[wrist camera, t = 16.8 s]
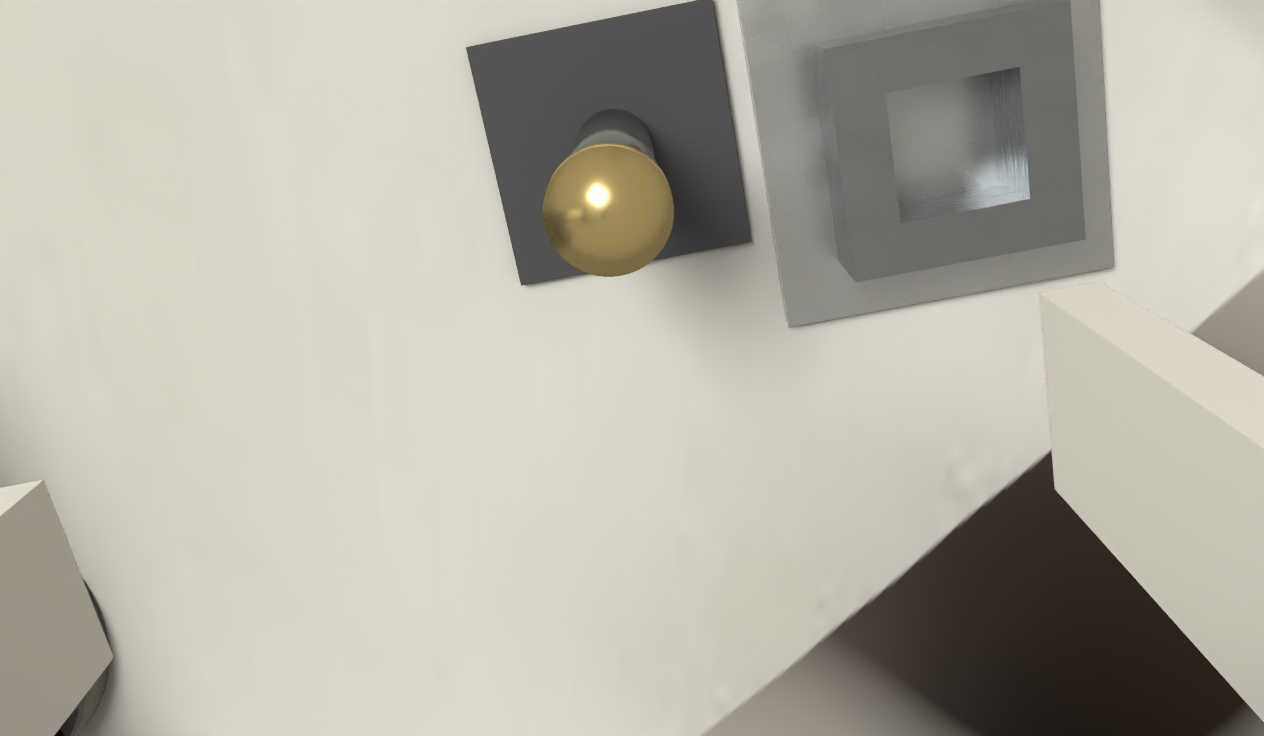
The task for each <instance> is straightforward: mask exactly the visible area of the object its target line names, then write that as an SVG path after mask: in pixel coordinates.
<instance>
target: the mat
mask: <svg viewBox="0 0 1264 736" xmlns="http://www.w3.org/2000/svg"><path fill="white" fill-rule="evenodd" d="M466 49H467V54H468V58H469V62H470V67H471V71H472V75H473V80H474V84H475V88H476V93H477V97H478V101H479V105H480V110H481V114H482V118H483V123H484V127H485V131H486V136H487V140H488V144H489V149H490V153H491V157H492V161H493V166H494V170H495V174H496V179H497V183H498V187H499V192H500V196H501V200H502V205H503V209H504V213H505V218H506V222H507V226H508V230H509V235H510V239H511V243H512V248H513V252H514V256H515V261H516V265H517V269H518V274H519V278H520V282H521V285H526V284H531V283H536V282H542V281H547V280H552V279H557V278H563V277H568V276H573V275H578V274H584V273H586V272H584V271H581V270H579V269H577V268H575V267H574V266H572V265H571V264H569V263H568V262H567V261H566V260H564V259H563V258H562V257H561V256H560V255H559V253H558V252H557V251H556V250H555V248H554V247H553V245H552V243H551V242H550V240H549V237H548V235H547V232H546V229H545V226H544V220H543V203H544V197H545V193H546V190H547V187H548V185H549V182H550V180H551V178H552V176H553V174H554V172H555V171H556V169H557V168H558V167H559V165H560V164H561V163H562V162H563V161H564V160H565V159H566V158H567V157H568V156H570V154H571V151H572V148H573V146H574V143H575V140H576V137H577V134H578V132H579V130H580V128H581V126H582V125H583V124H584V122H585V121H586V120H587V119H588V118H590V117H591V116H592V115H594V114H596V113H597V112H600V111H603V110H607V109H621V110H625V111H628V112H630V113H632V114H634V115H635V116H637V117H638V118H639V119H640V120H641V121H642V122H643V123H644V124H645V126H646V127H647V129H648V131H649V133H650V135H651V139H652V144H653V150H654V155H655V161H656V163H657V165H658V166H659V167H660V169H661V170H662V171H663V173H664V175H665V177H666V178H667V181H668V183H669V186H670V190H671V194H672V198H673V204H674V220H673V226H672V230H671V233H670V236H669V238H668V240H667V242H666V244H665V246H664V247H663V249H662V250H661V251H660V253H659V254H658V255H657V256H656V257H655V258H654V259H653V260H657V259H663V258H668V257H673V256H678V255H684V254H689V253H694V252H699V251H705V250H710V249H715V248H720V247H726V246H731V245H736V244H741V243H747V242H751V236H750V230H749V224H748V218H747V212H746V205H745V199H744V193H743V187H742V181H741V175H740V168H739V162H738V156H737V150H736V144H735V137H734V131H733V125H732V119H731V113H730V107H729V100H728V94H727V88H726V82H725V76H724V69H723V63H722V57H721V51H720V45H719V39H718V32H717V26H716V20H715V14H714V8H713V1H712V0H696V1H692V2H687V3H682V4H677V5H672V6H667V7H662V8H657V9H652V10H647V11H642V12H637V13H632V14H628V15H623V16H618V17H613V18H608V19H603V20H598V21H593V22H588V23H583V24H578V25H573V26H569V27H564V28H559V29H554V30H549V31H544V32H539V33H534V34H529V35H524V36H519V37H514V38H509V39H505V40H500V41H495V42H490V43H485V44H480V45H475V46H470V47H466Z"/></svg>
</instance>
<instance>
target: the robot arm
mask: <svg viewBox="0 0 1264 736" xmlns="http://www.w3.org/2000/svg"><path fill="white" fill-rule="evenodd" d="M1039 296H1040V308H1041V321H1042V334H1043V346H1044V359H1045V372H1046V384H1047V397H1048V410H1049V422H1050V435H1051V447H1052V460H1053V473H1054V485H1055V490H1057V492H1058V493H1059V494H1060V495H1061V496H1062V497H1063V498H1064V500H1065V501H1066V502H1067V503H1068V504H1069V505H1070V506H1071V508H1072V509H1073V510H1074V511H1075V512H1076V513H1077V514H1078V515H1079V516H1080V518H1081V519H1082V520H1083V521H1084V522H1085V523H1086V524H1087V525H1088V526H1089V528H1090V529H1091V530H1092V531H1093V532H1094V533H1095V534H1096V535H1097V537H1098V538H1099V539H1100V540H1101V541H1102V542H1103V543H1104V544H1105V545H1106V547H1107V548H1108V549H1109V550H1110V551H1111V552H1112V553H1113V554H1114V555H1115V556H1116V558H1117V559H1118V560H1119V561H1120V562H1121V563H1122V564H1123V565H1124V567H1125V568H1126V569H1127V570H1128V571H1129V572H1130V573H1131V574H1132V576H1133V577H1134V578H1135V579H1136V580H1137V581H1138V582H1139V583H1140V585H1141V586H1142V587H1143V588H1144V589H1145V590H1146V591H1147V592H1148V593H1149V594H1150V596H1151V597H1152V598H1153V599H1154V600H1155V601H1156V602H1157V603H1158V605H1159V606H1160V607H1161V608H1162V609H1163V610H1164V611H1165V612H1166V613H1167V615H1168V616H1169V617H1170V618H1171V619H1172V620H1173V621H1174V622H1175V624H1176V625H1178V627H1179V628H1180V629H1181V630H1182V631H1183V632H1184V633H1185V635H1186V636H1187V637H1188V638H1189V639H1190V640H1191V641H1192V642H1193V644H1194V645H1195V646H1196V647H1197V648H1198V649H1199V650H1200V651H1201V653H1202V654H1203V655H1204V656H1205V657H1206V658H1207V659H1208V660H1209V662H1210V663H1212V665H1213V666H1214V667H1215V668H1216V669H1217V670H1218V672H1219V673H1220V674H1221V675H1222V676H1223V677H1224V678H1225V679H1226V680H1227V682H1228V683H1229V684H1230V685H1231V686H1232V687H1233V688H1234V689H1235V690H1236V692H1237V693H1238V694H1239V695H1240V696H1241V697H1242V698H1243V699H1244V701H1245V702H1246V703H1247V704H1248V705H1249V706H1250V707H1251V708H1252V710H1253V711H1254V712H1255V713H1256V714H1257V715H1258V716H1259V717H1260V718H1261V720H1262V721H1263V722H1264V376H1262V375H1260V374H1258V373H1257V372H1255V371H1253V370H1252V369H1250V368H1248V367H1246V366H1245V365H1243V364H1241V363H1240V362H1238V361H1236V360H1234V359H1232V358H1231V357H1229V356H1228V355H1226V354H1224V353H1222V352H1221V351H1219V350H1217V349H1216V348H1214V347H1212V346H1210V345H1209V344H1207V343H1205V342H1203V341H1202V340H1200V339H1198V338H1197V337H1195V336H1193V335H1191V334H1190V333H1188V332H1186V331H1185V330H1183V329H1181V328H1179V327H1178V326H1176V325H1174V324H1173V323H1171V322H1169V321H1167V320H1166V319H1164V318H1162V317H1161V316H1159V315H1157V314H1155V313H1154V312H1152V311H1150V310H1149V309H1147V308H1145V307H1143V306H1142V305H1140V304H1138V303H1137V302H1135V301H1133V300H1131V299H1130V298H1128V297H1126V296H1124V295H1123V294H1121V293H1119V292H1118V291H1116V290H1114V289H1112V288H1111V287H1109V286H1107V285H1106V284H1104V283H1102V282H1100V281H1099V282H1094V283H1088V284H1083V285H1078V286H1072V287H1067V288H1062V289H1056V290H1051V291H1046V292H1040V293H1039ZM113 658H114V657H113V654H112V652H111V649H110V647H109V644H108V642H107V639H106V634H105V630H104V627H103V623H102V620H101V617H100V615H99V612H98V610H97V608H96V605H95V603H94V601H93V599H92V597H91V596H90V594H89V592H88V590H87V588H86V586H85V583H84V581H83V578H82V576H81V573H80V571H79V568H78V566H77V563H76V561H75V558H74V556H73V553H72V551H71V548H70V546H69V543H68V540H67V538H66V535H65V533H64V530H63V528H62V525H61V523H60V520H59V518H58V515H57V513H56V510H55V508H54V505H53V503H52V500H51V498H50V495H49V492H48V490H47V487H46V485H45V482H44V480H40V481H35V482H29V483H24V484H19V485H13V486H8V487H3V488H0V736H78V734H79V733H80V732H81V730H82V729H83V728H84V726H85V725H86V724H87V722H88V721H89V720H90V718H91V717H92V715H93V713H94V712H95V710H96V708H97V706H98V704H99V702H100V700H101V697H102V694H103V691H104V688H105V684H106V679H107V673H108V665H109V663H110V662H111V661H112V659H113Z"/></svg>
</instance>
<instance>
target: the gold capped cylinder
mask: <svg viewBox="0 0 1264 736" xmlns="http://www.w3.org/2000/svg"><path fill="white" fill-rule="evenodd" d="M543 220H544V226H545V229H546V232H547V235H548V237H549V240H550V242H551V243H552V245H553V247H554V248H555V250H556V251H557V252H558V253H559V255H560V256H561V257H562V258H563V259H564V260H566V261H567V262H568V263H569V264H571V265H572V266H574V267H575V268H577V269H579V270H581V271H584V272H586V273H589V274H593V275H597V276H604V277H613V276H621V275H625V274H629V273H632V272H634V271H637V270H639V269H640V268H642V267H644V266H645V265H647V264H648V263H649V262H651V261H652V260H653V259H654V258H655V257H656V256H657V255H658V254H659V253H660V251H661V250H662V249H663V247H664V246H665V244H666V242H667V240H668V238H669V236H670V233H671V230H672V226H673V220H674V204H673V198H672V194H671V190H670V186H669V183H668V181H667V178H666V177H665V175H664V173H663V171H662V170H661V169H660V167H659V166H658V165H657V163H656V161H655V155H654V150H653V144H652V139H651V135H650V133H649V131H648V129H647V127H646V126H645V124H644V123H643V122H642V121H641V120H640V119H639V118H638V117H637V116H635V115H634V114H632V113H630V112H628V111H625V110H621V109H607V110H603V111H600V112H597V113H596V114H594V115H592V116H591V117H590V118H588V119H587V120H586V121H585V122H584V124H583V125H582V126H581V128H580V130H579V132H578V134H577V137H576V140H575V143H574V146H573V148H572V151H571V154H570V156H568V157H567V158H566V159H565V160H564V161H563V162H562V163H561V164H560V165H559V167H558V168H557V169H556V171H555V172H554V174H553V176H552V178H551V180H550V182H549V185H548V187H547V190H546V193H545V197H544V203H543Z"/></svg>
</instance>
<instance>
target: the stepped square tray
mask: <svg viewBox="0 0 1264 736" xmlns="http://www.w3.org/2000/svg"><path fill="white" fill-rule="evenodd" d="M737 6H738V13H739V19H740V26H741V32H742V38H743V45H744V51H745V58H746V64H747V71H748V77H749V84H750V90H751V96H752V103H753V109H754V116H755V122H756V129H757V135H758V142H759V148H760V154H761V161H762V167H763V174H764V180H765V187H766V193H767V200H768V206H769V212H770V219H771V225H772V232H773V238H774V245H775V251H776V258H777V264H778V270H779V277H780V283H781V290H782V296H783V303H784V309H785V316H786V322H787V324H788V326H789V327H794V326H799V325H805V324H810V323H816V322H821V321H826V320H832V319H837V318H843V317H848V316H853V315H859V314H864V313H870V312H875V311H880V310H886V309H891V308H897V307H902V306H907V305H913V304H918V303H923V302H929V301H934V300H940V299H945V298H950V297H956V296H961V295H967V294H972V293H977V292H983V291H988V290H994V289H999V288H1004V287H1010V286H1015V285H1020V284H1026V283H1031V282H1037V281H1042V280H1047V279H1053V278H1058V277H1064V276H1069V275H1074V274H1080V273H1085V272H1091V271H1096V270H1101V269H1107V268H1112V267H1114V255H1113V237H1112V220H1111V202H1110V184H1109V166H1108V148H1107V131H1106V113H1105V95H1104V77H1103V59H1102V41H1101V24H1100V6H1099V0H737Z"/></svg>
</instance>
